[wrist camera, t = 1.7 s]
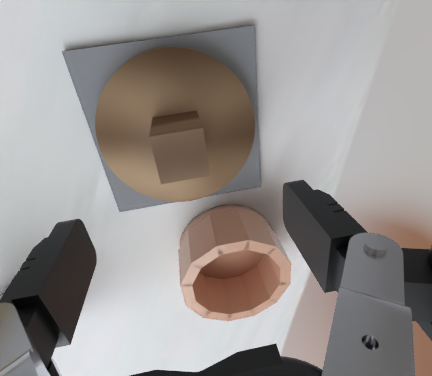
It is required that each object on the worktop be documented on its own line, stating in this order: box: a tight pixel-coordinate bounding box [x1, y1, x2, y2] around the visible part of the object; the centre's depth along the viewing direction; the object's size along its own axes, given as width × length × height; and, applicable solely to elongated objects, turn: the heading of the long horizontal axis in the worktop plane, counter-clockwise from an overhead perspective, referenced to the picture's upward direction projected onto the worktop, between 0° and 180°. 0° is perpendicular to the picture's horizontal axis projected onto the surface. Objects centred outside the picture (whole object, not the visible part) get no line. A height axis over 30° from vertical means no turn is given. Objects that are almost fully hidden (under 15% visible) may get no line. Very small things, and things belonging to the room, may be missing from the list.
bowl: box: [179, 205, 291, 321], centre depth 25 cm, size 9×9×5 cm
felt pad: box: [62, 25, 261, 212], centre depth 20 cm, size 12×12×1 cm
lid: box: [95, 46, 255, 202], centre depth 18 cm, size 11×11×5 cm
